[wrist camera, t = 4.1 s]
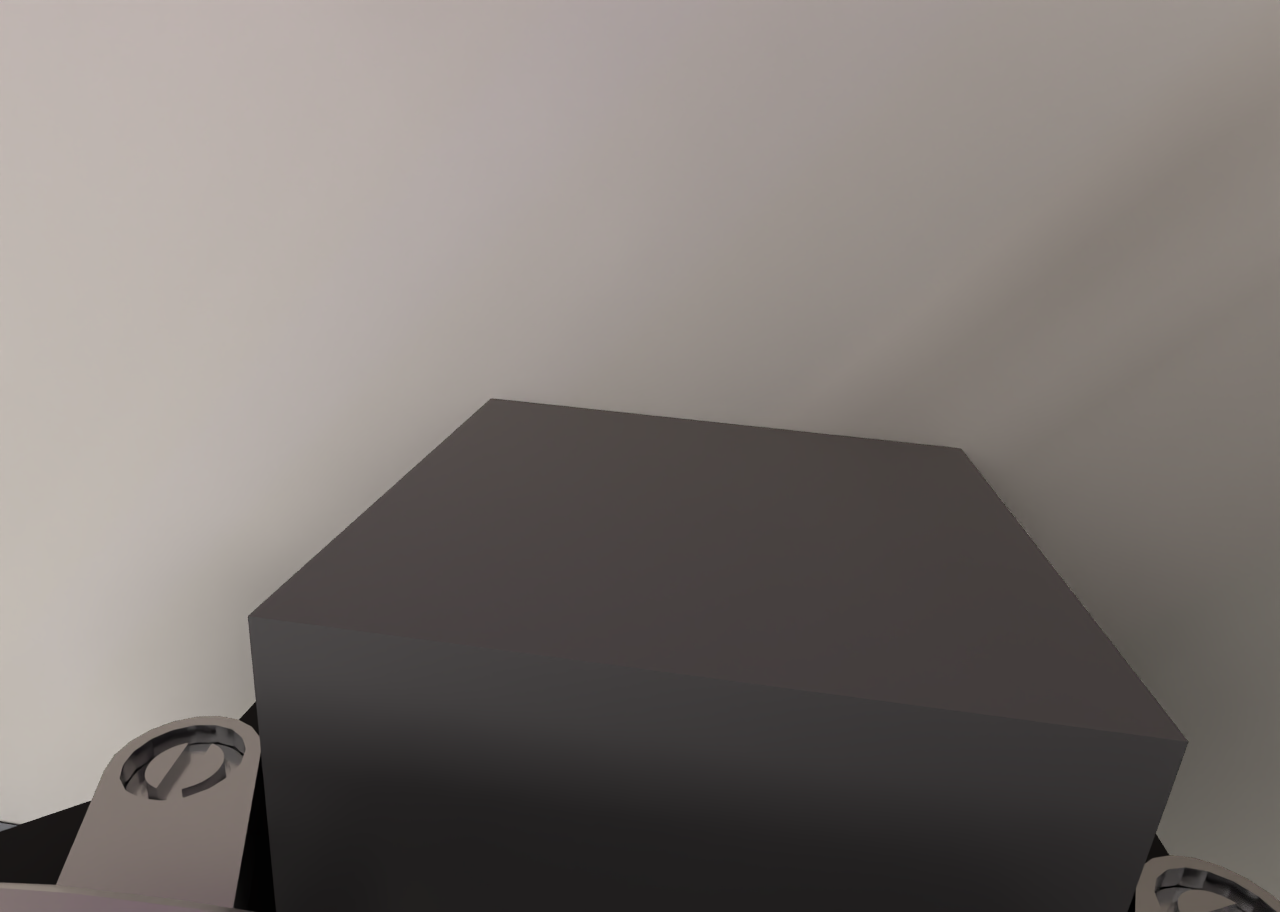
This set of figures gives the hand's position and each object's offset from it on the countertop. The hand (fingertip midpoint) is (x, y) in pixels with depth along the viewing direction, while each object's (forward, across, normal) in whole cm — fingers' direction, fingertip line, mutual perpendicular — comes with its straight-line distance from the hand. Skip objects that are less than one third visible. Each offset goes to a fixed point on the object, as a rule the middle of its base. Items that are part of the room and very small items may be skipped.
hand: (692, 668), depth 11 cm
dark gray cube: (+1, 0, 0) cm, 1 cm away
